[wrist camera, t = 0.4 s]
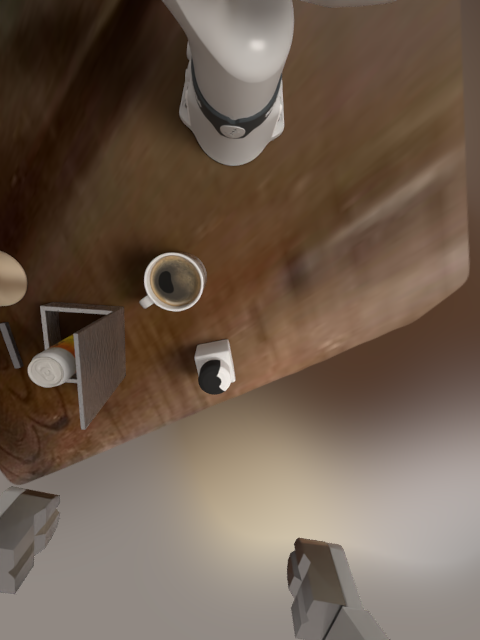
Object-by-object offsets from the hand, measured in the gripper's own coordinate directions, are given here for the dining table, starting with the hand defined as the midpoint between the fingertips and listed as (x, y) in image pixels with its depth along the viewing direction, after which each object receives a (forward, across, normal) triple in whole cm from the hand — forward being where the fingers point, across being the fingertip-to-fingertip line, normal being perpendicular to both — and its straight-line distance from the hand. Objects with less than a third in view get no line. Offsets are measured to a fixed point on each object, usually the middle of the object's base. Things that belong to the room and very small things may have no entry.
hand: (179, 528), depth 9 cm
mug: (+47, +12, 0) cm, 48 cm away
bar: (+44, +43, +21) cm, 65 cm away
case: (+45, +27, +17) cm, 55 cm away
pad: (+44, +46, +7) cm, 64 cm away
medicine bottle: (+47, 0, +16) cm, 50 cm away
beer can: (+45, +27, +17) cm, 55 cm away
